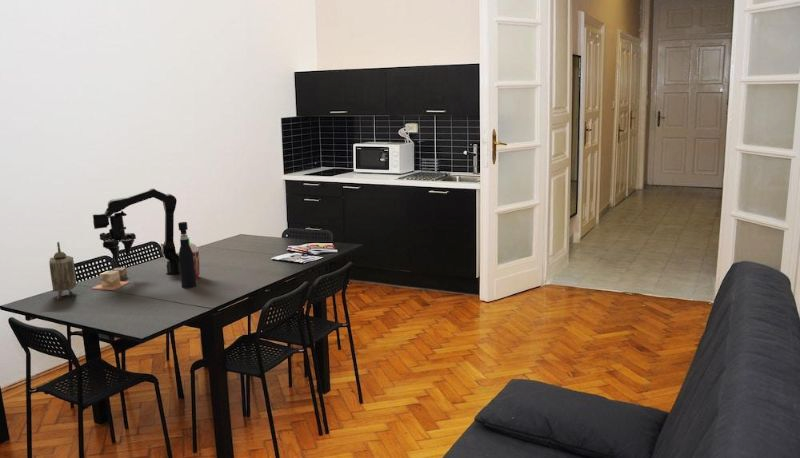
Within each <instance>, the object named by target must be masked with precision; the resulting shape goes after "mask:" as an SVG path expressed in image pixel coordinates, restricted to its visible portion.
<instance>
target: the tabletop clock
mask: <svg viewBox="0 0 800 458" xmlns="http://www.w3.org/2000/svg"><path fill="white" fill-rule="evenodd" d="M56 244H57V245H56V247H57V252H56V253H54V254H53V257H50V258H49V262H48V263H49V265H48V266H49V272H50V279H51V286H52V292H57V293H58V295H57V296H56V299H57V301H58V300H61V299H62V297H61V295H62V294H63V292H64V291H67V290H68V292H69V293H68V295H69V296H73V294H74V293H73V291H71V290H73V289H74V288H76V287H77V276H76V268H75V262H74V257H73V256H70V255H67V254H66V252H64V251H61V246H60V241H57V243H56Z"/></svg>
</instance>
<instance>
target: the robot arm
mask: <svg viewBox="0 0 800 458" xmlns="http://www.w3.org/2000/svg"><path fill="white" fill-rule="evenodd" d="M152 198H154V199H157V200H158V201H161V202H162V205H163V210H164V222H165V223H164V242H163V243H160V247H161V250H160V253H161V254H162V256H163V257H164V259H166V260H167V261H166V275H181V273H180V263H179V253H177V252H176V245H175V240H174V235H175V234H174V227H175V225H174V223H175V221H174V219H175V211H176V207H177V198H176V196H174V195H173V194H171V193H163V192H162V191H159V190H157V189H155V188H149V189H148V190H145V191H142V192H139V193H135V194H134V195H130V196H127V197H120V198H114V199H110V200H109V201H107V208H106V210H105V211H104V213H100V214H99V213H98V214H97V213H96V214H95V213H94V214H92V222H93V229H94V230H98V229H104V228H105V229H106V228H108V227H109V225H110V229H109V230H108V231H109V232H107V233H106V232H101V233H99V240H101V241H102V248H105V250H108V251H110V253H111V255H112V256H113V259H114V260H115V261H118V260H119V254H120V245H119V244H120V243H121V244H123V246H124V250H125V251H124V252H125V255H126V256H129V255H130V252H131V250H132V247H133V245H134V242H135V240H136V239H137V236H136V234H135V233H134V232H126V231H125V230H127V226H125V224H124V223H125V222H124V217H126V216H127V215H128V214H127V213H126V212H124V211H123V210H125V209H126V208H128V207H129V206H133V205H135V204H138V203H141V202H144V201H147V200H149V199H152Z"/></svg>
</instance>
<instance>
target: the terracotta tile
mask: <svg viewBox="0 0 800 458" xmlns="http://www.w3.org/2000/svg"><path fill="white" fill-rule="evenodd" d="M128 284H131V282H130V281H124V280H120V284H118V285H115V286H113V287H104V286H101V283H100V284H98V285H96V286H93V287H92V288H91V290H100V291H101V290H102V291H103V290H104V291H106V290H107V291H115V290H118V289H121V288H122V287H124V286H127V285H128Z"/></svg>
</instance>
